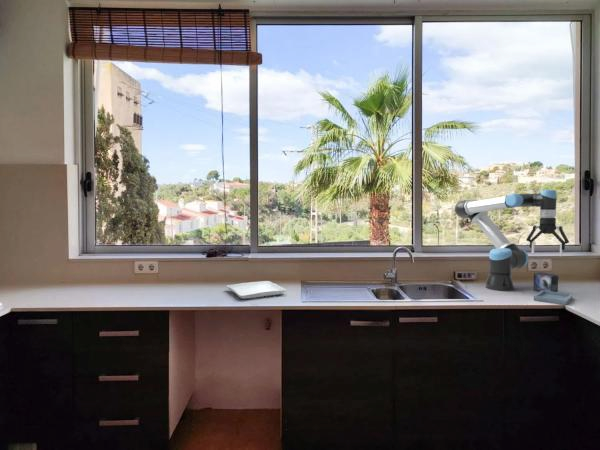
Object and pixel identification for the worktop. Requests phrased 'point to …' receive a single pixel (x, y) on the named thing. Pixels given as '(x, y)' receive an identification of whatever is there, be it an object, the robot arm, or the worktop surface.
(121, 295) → the worktop surface
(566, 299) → the tray
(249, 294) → the square plate
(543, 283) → the small box
